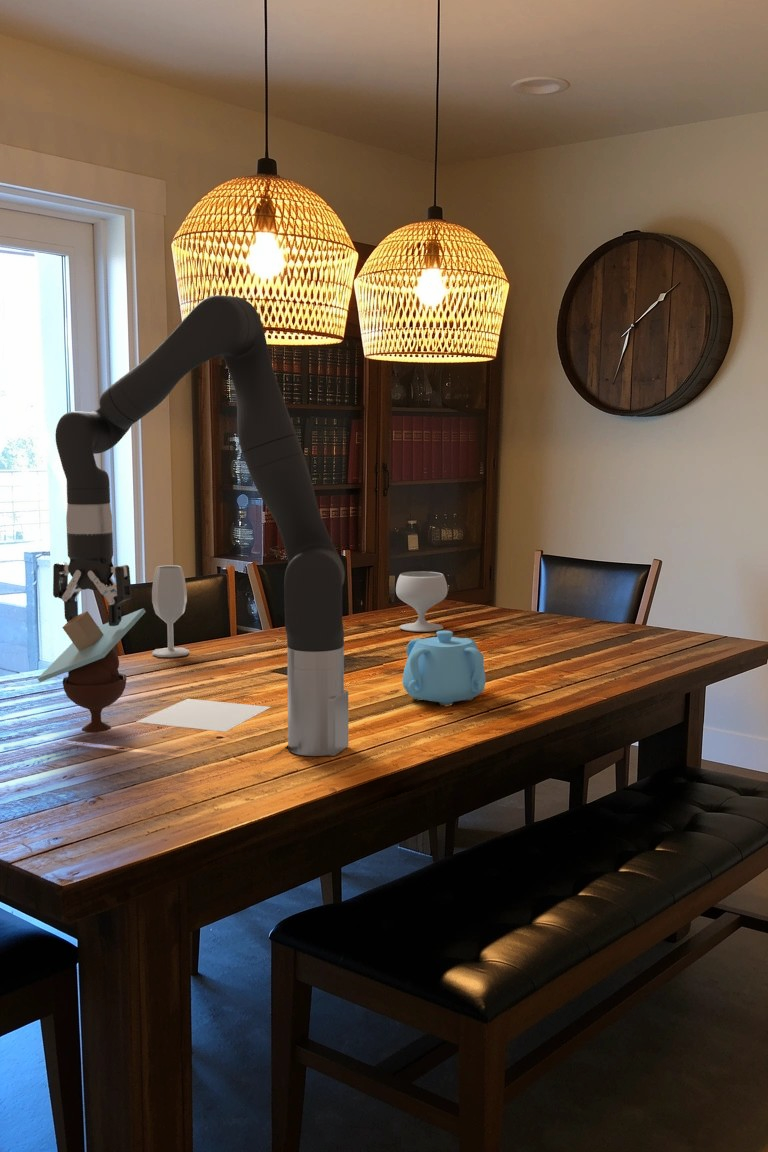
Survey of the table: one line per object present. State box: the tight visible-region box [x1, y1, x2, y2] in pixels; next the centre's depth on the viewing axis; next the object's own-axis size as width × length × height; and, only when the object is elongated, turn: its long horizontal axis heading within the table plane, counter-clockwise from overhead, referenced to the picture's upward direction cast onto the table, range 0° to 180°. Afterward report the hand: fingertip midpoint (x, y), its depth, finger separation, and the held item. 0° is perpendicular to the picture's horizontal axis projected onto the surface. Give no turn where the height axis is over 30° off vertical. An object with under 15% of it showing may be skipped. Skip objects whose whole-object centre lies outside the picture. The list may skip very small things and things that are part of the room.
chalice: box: [395, 570, 449, 633], centre depth 282 cm, size 14×14×15 cm
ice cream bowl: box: [62, 648, 127, 734], centre depth 181 cm, size 11×11×15 cm
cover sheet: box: [37, 608, 147, 683], centre depth 179 cm, size 15×15×6 cm
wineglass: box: [151, 564, 190, 658], centre depth 246 cm, size 9×9×21 cm
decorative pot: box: [402, 630, 486, 706], centre depth 205 cm, size 16×16×14 cm
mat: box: [135, 698, 272, 733], centre depth 192 cm, size 18×18×1 cm
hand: (93, 624), depth 180 cm, fingers open, 8 cm apart
